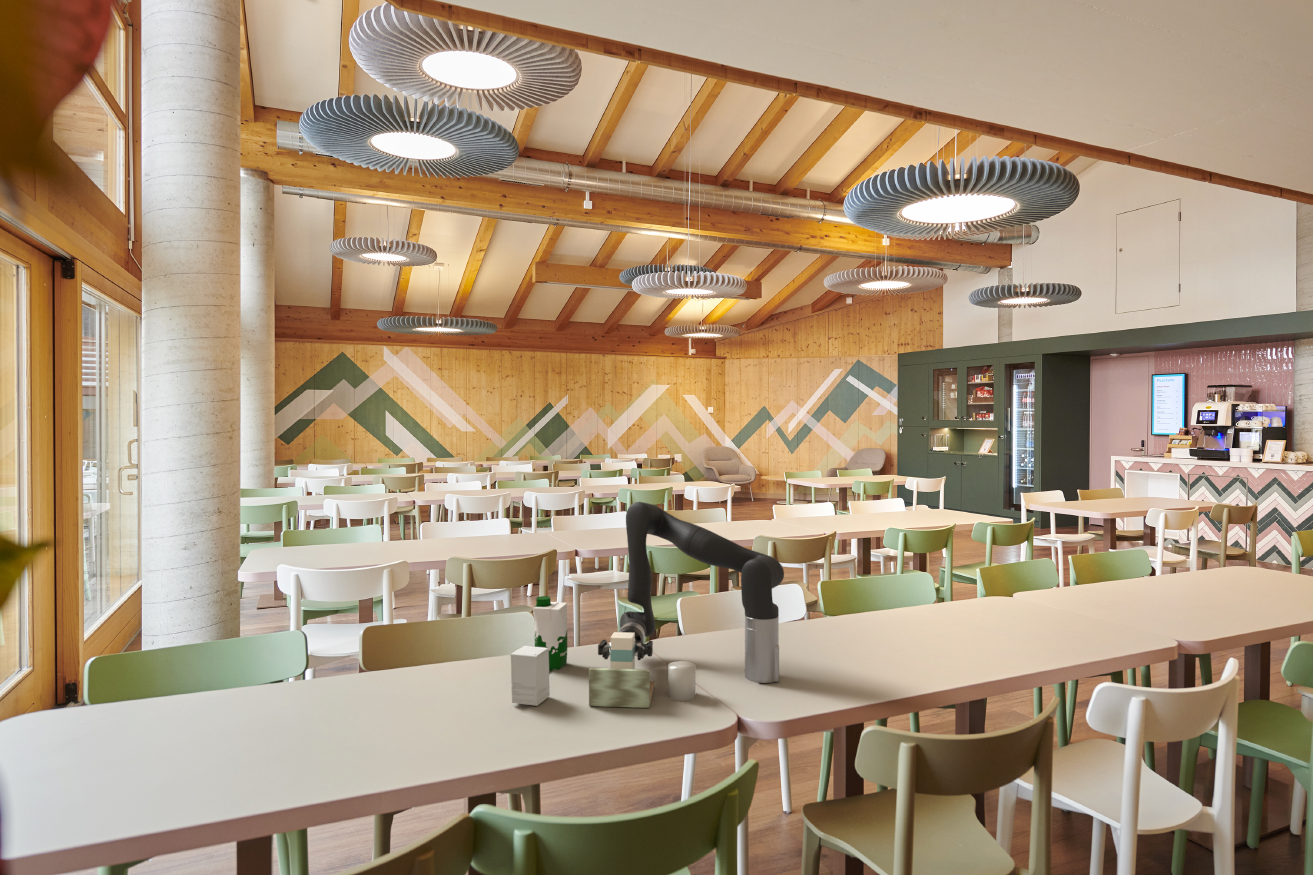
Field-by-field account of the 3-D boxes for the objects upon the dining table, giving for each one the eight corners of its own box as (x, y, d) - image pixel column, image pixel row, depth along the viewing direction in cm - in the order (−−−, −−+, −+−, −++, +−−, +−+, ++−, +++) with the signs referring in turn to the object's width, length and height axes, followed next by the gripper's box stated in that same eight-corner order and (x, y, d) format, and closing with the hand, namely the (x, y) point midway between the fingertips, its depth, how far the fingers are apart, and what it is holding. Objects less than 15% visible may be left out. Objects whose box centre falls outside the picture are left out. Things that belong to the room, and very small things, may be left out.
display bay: (654, 688, 205) (654, 654, 205) (649, 707, 191) (649, 671, 191) (598, 686, 206) (598, 653, 206) (589, 705, 192) (588, 669, 192)
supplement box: (550, 695, 199) (550, 647, 198) (537, 706, 192) (536, 656, 191) (525, 692, 201) (524, 644, 201) (510, 703, 194) (509, 653, 194)
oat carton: (635, 685, 202) (634, 632, 202) (632, 693, 196) (632, 638, 196) (613, 685, 203) (613, 631, 202) (610, 692, 197) (610, 637, 197)
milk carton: (541, 660, 229) (540, 593, 228) (571, 662, 227) (570, 595, 226) (531, 670, 220) (530, 601, 219) (561, 672, 218) (560, 602, 218)
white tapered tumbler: (695, 691, 202) (695, 661, 202) (695, 701, 195) (695, 669, 195) (668, 691, 203) (668, 660, 203) (667, 700, 196) (667, 669, 196)
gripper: (604, 624, 214) (594, 640, 198) (656, 625, 213) (650, 641, 197) (604, 651, 214) (594, 669, 198) (656, 653, 213) (650, 671, 197)
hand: (622, 655), depth 197 cm, fingers open, 8 cm apart
